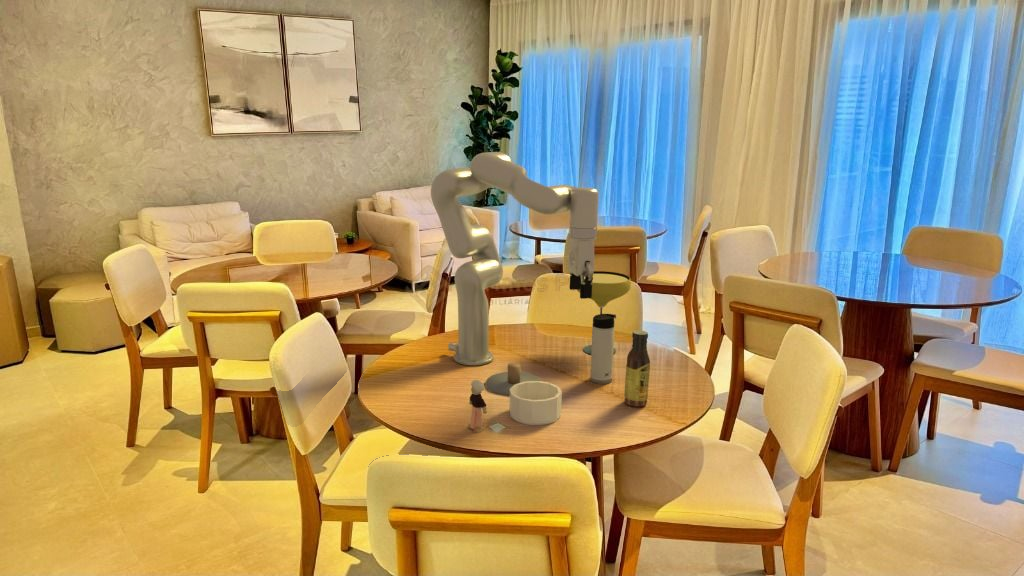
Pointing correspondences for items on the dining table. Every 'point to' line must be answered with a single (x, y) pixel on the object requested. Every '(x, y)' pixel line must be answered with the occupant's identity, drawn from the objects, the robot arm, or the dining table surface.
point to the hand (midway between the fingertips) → (580, 293)
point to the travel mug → (602, 348)
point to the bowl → (535, 402)
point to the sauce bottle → (637, 371)
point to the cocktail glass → (607, 291)
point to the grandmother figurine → (477, 406)
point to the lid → (508, 379)
